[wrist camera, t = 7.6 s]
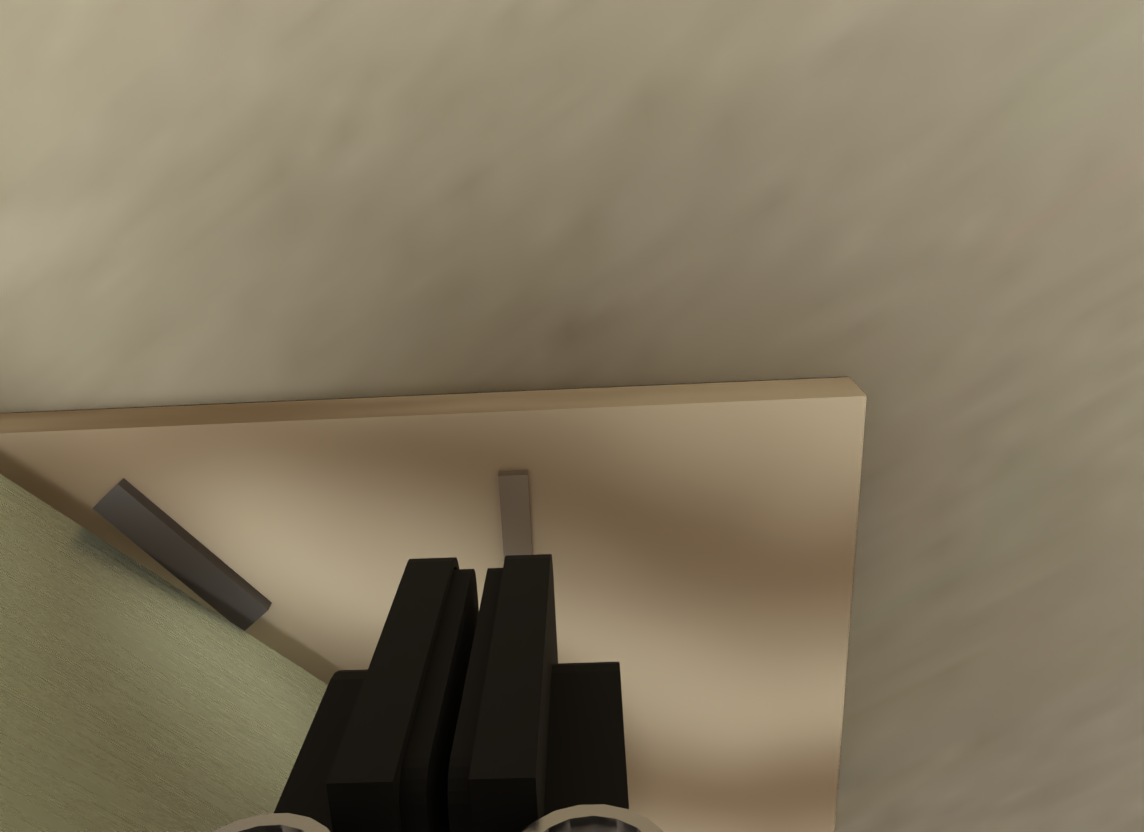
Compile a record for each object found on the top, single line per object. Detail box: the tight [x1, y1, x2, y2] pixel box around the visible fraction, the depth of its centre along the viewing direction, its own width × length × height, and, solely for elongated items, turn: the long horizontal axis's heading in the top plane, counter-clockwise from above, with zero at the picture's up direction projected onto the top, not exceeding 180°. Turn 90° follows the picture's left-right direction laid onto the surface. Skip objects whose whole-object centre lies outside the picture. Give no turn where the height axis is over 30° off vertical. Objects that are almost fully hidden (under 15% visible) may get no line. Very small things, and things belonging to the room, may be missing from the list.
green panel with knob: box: [0, 474, 328, 832], centre depth 18 cm, size 18×7×8 cm, turn 50°
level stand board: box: [0, 377, 867, 832], centre depth 23 cm, size 18×18×2 cm
